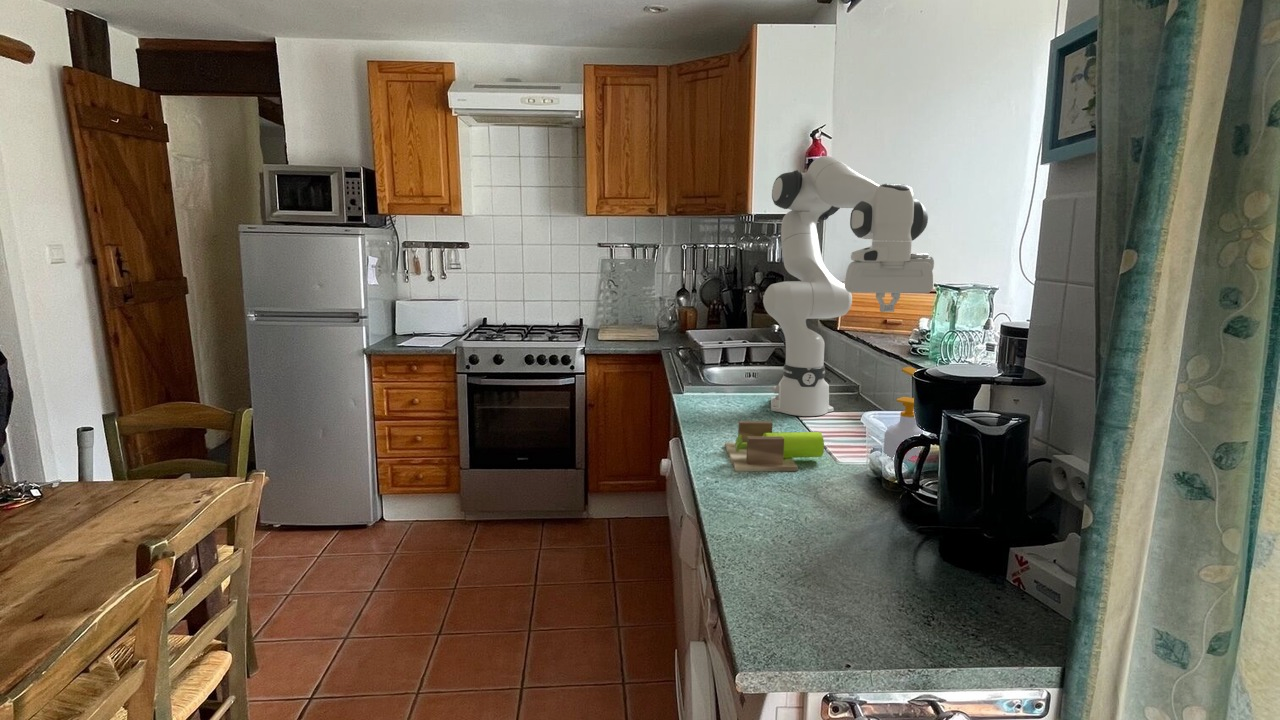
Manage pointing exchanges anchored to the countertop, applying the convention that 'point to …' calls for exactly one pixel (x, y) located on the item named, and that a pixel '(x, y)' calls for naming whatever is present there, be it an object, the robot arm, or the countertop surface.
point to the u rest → (759, 449)
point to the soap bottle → (903, 426)
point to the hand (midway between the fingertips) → (886, 311)
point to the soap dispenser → (794, 444)
